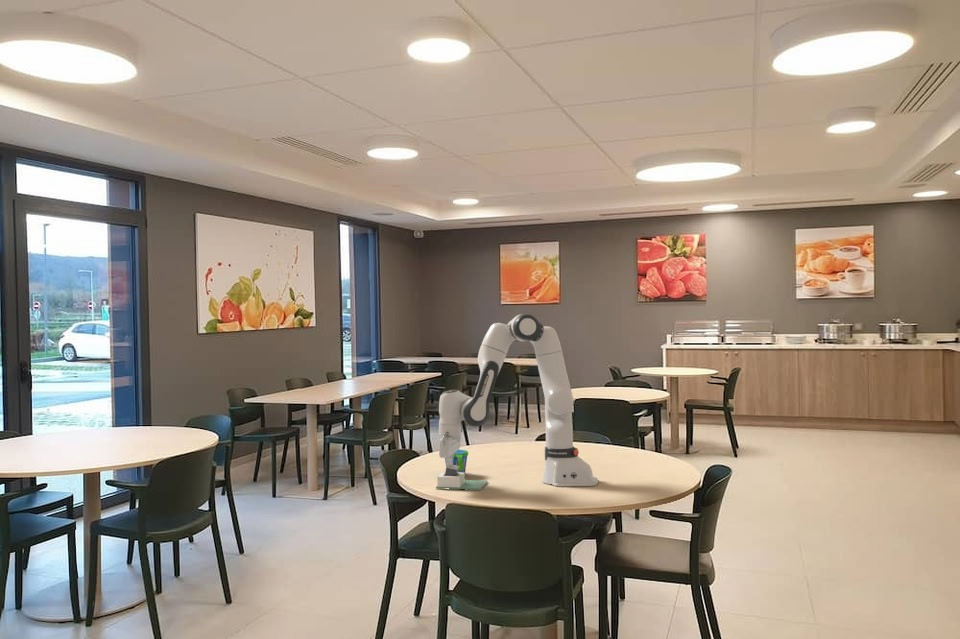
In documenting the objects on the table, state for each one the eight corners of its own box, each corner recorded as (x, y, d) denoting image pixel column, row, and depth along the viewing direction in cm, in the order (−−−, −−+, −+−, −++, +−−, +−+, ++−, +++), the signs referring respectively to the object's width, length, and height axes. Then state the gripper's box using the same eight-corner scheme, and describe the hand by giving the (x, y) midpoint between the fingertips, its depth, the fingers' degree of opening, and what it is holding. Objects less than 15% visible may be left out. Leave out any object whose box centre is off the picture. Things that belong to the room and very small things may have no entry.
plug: (455, 483, 274) (459, 466, 273) (453, 485, 270) (457, 468, 269) (445, 480, 274) (448, 463, 274) (442, 482, 271) (446, 465, 270)
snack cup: (441, 472, 300) (441, 448, 300) (465, 470, 302) (464, 447, 302) (446, 479, 284) (446, 455, 284) (471, 478, 286) (471, 454, 286)
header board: (487, 482, 278) (487, 470, 278) (480, 490, 264) (480, 478, 264) (444, 481, 282) (444, 469, 282) (435, 489, 268) (435, 476, 268)
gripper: (451, 434, 261) (451, 470, 261) (463, 427, 281) (463, 460, 281) (435, 434, 262) (435, 470, 262) (448, 426, 283) (448, 460, 282)
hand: (449, 465), depth 272 cm, fingers closed, pressing on plug
